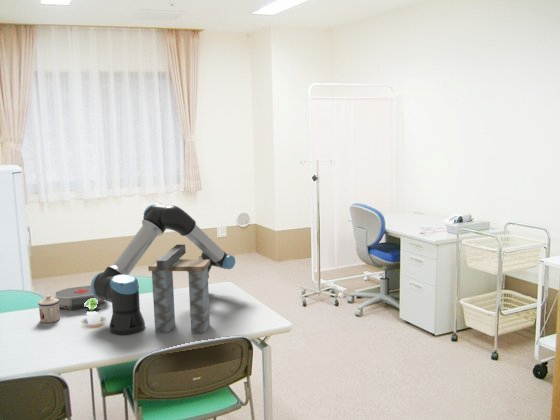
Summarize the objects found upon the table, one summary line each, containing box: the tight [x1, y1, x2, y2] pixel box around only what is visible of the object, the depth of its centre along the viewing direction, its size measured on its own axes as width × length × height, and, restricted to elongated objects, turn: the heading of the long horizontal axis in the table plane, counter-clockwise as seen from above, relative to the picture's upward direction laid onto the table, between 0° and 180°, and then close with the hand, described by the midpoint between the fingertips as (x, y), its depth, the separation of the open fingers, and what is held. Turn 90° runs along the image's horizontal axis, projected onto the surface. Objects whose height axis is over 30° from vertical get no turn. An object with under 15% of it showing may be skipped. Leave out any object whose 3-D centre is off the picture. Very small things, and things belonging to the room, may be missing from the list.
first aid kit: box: [54, 284, 105, 310], centre depth 273 cm, size 18×8×25 cm
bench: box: [148, 258, 211, 334], centre depth 237 cm, size 24×12×30 cm, turn 85°
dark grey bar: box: [156, 244, 186, 270], centre depth 236 cm, size 4×30×4 cm, turn 175°
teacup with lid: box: [37, 294, 61, 324], centre depth 251 cm, size 12×9×12 cm
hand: (185, 258), depth 259 cm, fingers open, 13 cm apart
